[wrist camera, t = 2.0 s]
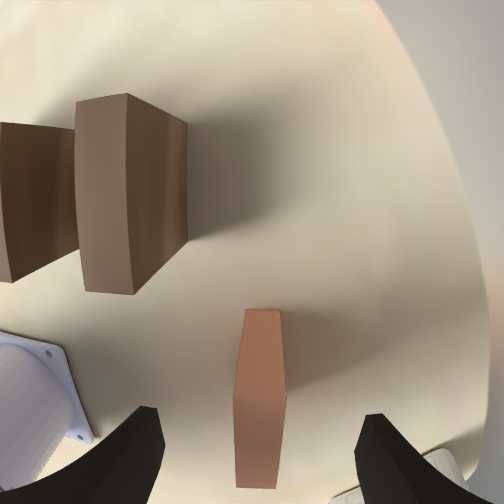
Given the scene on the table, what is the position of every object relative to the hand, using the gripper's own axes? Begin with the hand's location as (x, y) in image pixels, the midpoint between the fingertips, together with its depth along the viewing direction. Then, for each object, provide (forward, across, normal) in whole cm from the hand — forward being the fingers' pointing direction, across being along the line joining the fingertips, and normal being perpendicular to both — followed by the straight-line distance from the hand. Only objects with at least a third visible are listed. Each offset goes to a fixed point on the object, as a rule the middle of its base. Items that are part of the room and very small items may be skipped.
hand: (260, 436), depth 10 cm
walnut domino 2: (+5, +4, -8) cm, 10 cm away
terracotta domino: (+5, 0, 0) cm, 5 cm away
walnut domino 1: (+5, +9, -8) cm, 13 cm away
